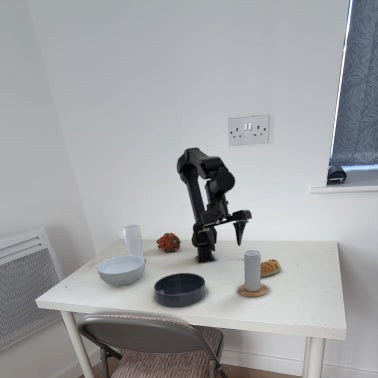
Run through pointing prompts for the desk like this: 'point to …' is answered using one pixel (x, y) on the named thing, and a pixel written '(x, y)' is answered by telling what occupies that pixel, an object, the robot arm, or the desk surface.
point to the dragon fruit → (169, 242)
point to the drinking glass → (133, 239)
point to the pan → (180, 290)
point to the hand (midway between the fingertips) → (226, 248)
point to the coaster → (258, 293)
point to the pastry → (269, 267)
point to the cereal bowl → (121, 269)
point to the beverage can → (252, 270)
